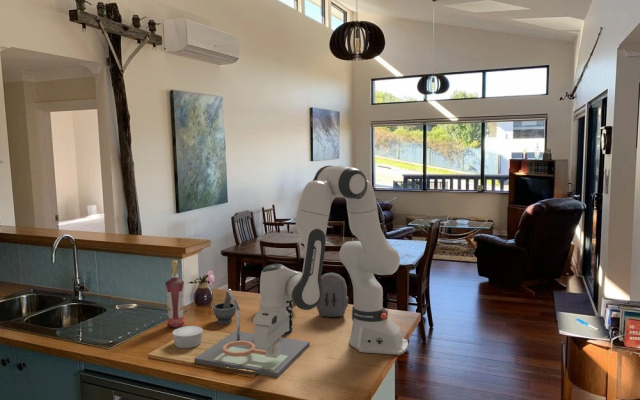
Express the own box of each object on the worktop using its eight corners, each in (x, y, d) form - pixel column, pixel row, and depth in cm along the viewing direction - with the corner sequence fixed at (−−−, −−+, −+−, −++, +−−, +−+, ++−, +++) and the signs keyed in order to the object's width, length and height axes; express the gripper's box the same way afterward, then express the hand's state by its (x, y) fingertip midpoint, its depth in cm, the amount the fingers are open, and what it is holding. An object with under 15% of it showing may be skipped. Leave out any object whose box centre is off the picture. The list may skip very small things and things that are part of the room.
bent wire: (241, 341, 185) (240, 284, 183) (230, 348, 178) (230, 289, 176) (237, 340, 186) (237, 283, 184) (227, 347, 179) (226, 289, 176)
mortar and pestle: (229, 326, 203) (229, 298, 202) (209, 324, 206) (209, 296, 204) (240, 317, 214) (240, 291, 213) (221, 315, 216) (220, 289, 215)
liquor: (185, 328, 201) (183, 262, 198) (166, 330, 199) (164, 263, 196) (184, 322, 208) (183, 258, 205) (166, 324, 206) (165, 259, 203)
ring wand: (284, 350, 169) (284, 338, 169) (271, 362, 159) (271, 349, 159) (233, 342, 176) (233, 330, 176) (217, 353, 166) (216, 340, 166)
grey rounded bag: (348, 314, 219) (349, 271, 217) (347, 320, 211) (347, 275, 209) (316, 312, 221) (316, 269, 219) (313, 318, 213) (313, 274, 211)
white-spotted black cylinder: (289, 335, 193) (289, 286, 191) (269, 333, 195) (269, 285, 193) (294, 328, 201) (294, 281, 200) (275, 326, 203) (275, 280, 201)
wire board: (309, 345, 183) (309, 341, 183) (277, 377, 157) (277, 372, 157) (235, 334, 194) (235, 330, 194) (194, 362, 168) (194, 357, 168)
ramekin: (171, 340, 188) (171, 327, 187) (201, 337, 192) (200, 324, 191) (173, 351, 177) (173, 337, 177) (204, 347, 181) (204, 334, 181)
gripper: (277, 302, 174) (277, 339, 176) (250, 320, 155) (250, 362, 156) (293, 304, 172) (293, 342, 173) (268, 323, 153) (268, 365, 154)
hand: (273, 351), depth 165 cm, fingers closed on ring wand, 3 cm apart
